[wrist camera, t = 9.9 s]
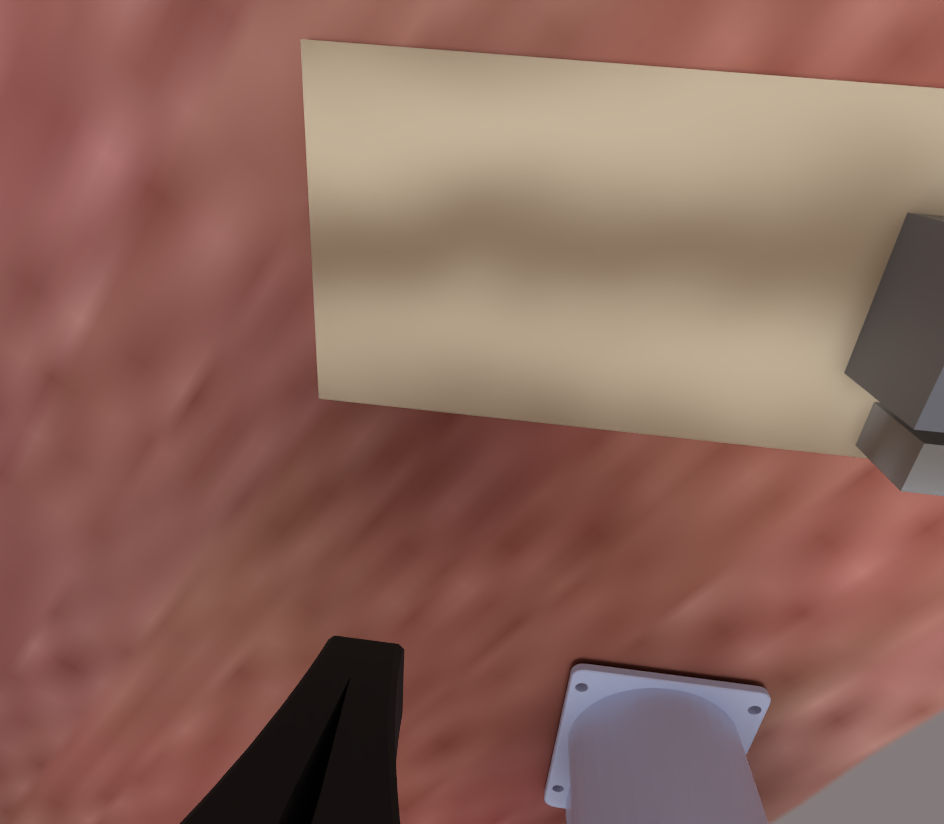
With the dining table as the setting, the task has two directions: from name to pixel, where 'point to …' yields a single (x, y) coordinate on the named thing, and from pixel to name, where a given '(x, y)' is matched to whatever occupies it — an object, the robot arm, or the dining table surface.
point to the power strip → (907, 328)
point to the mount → (613, 244)
